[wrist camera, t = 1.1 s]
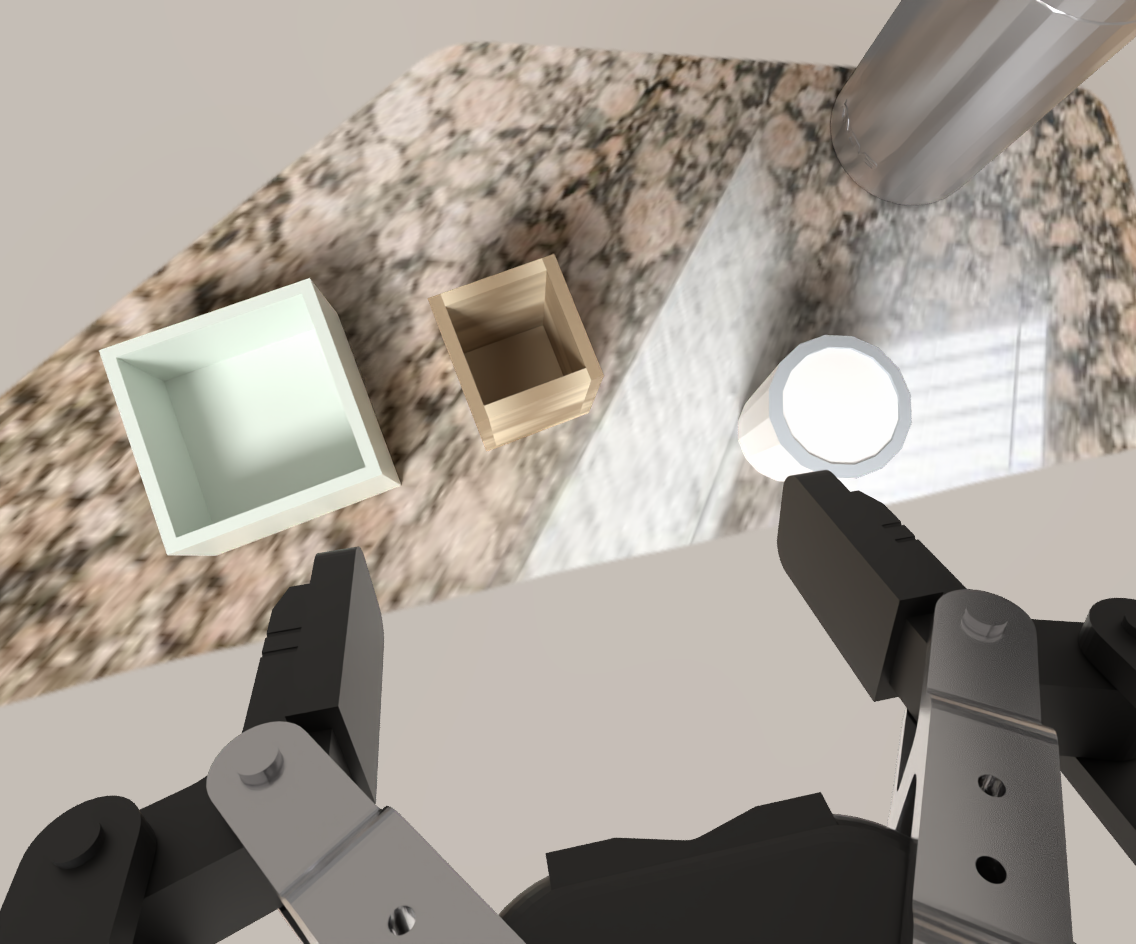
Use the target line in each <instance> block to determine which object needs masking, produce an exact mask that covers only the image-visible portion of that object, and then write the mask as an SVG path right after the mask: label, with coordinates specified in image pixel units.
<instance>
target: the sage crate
mask: <svg viewBox="0 0 1136 944" xmlns="http://www.w3.org/2000/svg"><path fill="white" fill-rule="evenodd" d="M99 352H100V355H101V358H102V361H103V364H104V367H105V370H106V373H107V376H108V379H109V382H110V385H111V388H112V391H113V394H114V397H115V400H116V403H117V406H118V409H119V412H120V415H121V418H122V421H123V424H124V427H125V430H126V433H127V436H128V439H129V442H130V445H131V448H132V451H133V454H134V457H135V460H136V463H137V466H138V469H139V472H140V475H141V478H142V481H143V484H144V487H145V490H146V493H147V496H148V499H149V502H150V505H151V508H152V511H153V514H154V517H155V520H156V523H157V526H158V529H159V531H160V534H161V537H162V540H163V543H164V546H165V549H166V552H167V555H200V556H217V555H219V554H222V553H224V552H227V551H230V550H232V549H235V548H238V547H240V546H243V545H246V544H248V543H251V542H254V541H256V540H259V539H261V538H264V537H267V536H269V535H272V534H275V533H277V532H280V531H283V530H285V529H288V528H291V527H293V526H296V525H299V524H301V523H304V522H306V521H309V520H312V519H314V518H317V517H320V516H322V515H325V514H328V513H330V512H333V511H336V510H338V509H341V508H343V507H346V506H349V505H351V504H354V503H357V502H359V501H362V500H365V499H367V498H370V497H373V496H375V495H378V494H380V493H383V492H386V491H388V490H391V489H394V488H396V487H399V486H401V483H400V480H399V478H398V475H397V472H396V470H395V467H394V464H393V461H392V459H391V456H390V453H389V451H388V448H387V445H386V443H385V440H384V437H383V435H382V432H381V429H380V426H379V424H378V421H377V418H376V416H375V413H374V410H373V408H372V405H371V402H370V400H369V397H368V394H367V391H366V389H365V386H364V383H363V381H362V378H361V375H360V373H359V370H358V367H357V365H356V362H355V359H354V356H353V354H352V351H351V348H350V346H349V343H348V340H347V338H346V335H345V332H344V330H343V327H342V324H341V321H340V319H339V316H338V314H337V312H336V311H335V310H334V309H333V307H332V306H331V305H330V303H329V302H328V301H327V300H326V298H325V297H324V296H323V294H322V293H321V292H320V290H319V289H318V288H317V287H316V285H315V284H314V283H313V281H312V280H311V279H310V278H308V279H305V280H302V281H300V282H297V283H294V284H291V285H288V286H285V287H282V288H279V289H276V290H273V291H270V292H267V293H265V294H262V295H259V296H256V297H253V298H250V299H247V300H244V301H241V302H238V303H235V304H233V305H230V306H227V307H224V308H221V309H218V310H215V311H212V312H209V313H206V314H203V315H201V316H198V317H195V318H192V319H189V320H186V321H183V322H180V323H177V324H174V325H171V326H168V327H166V328H163V329H160V330H157V331H154V332H151V333H148V334H145V335H142V336H139V337H136V338H134V339H131V340H128V341H125V342H122V343H119V344H116V345H113V346H110V347H107V348H104V349H102V350H99Z"/></svg>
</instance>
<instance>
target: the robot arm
mask: <svg viewBox="0 0 1136 944" xmlns="http://www.w3.org/2000/svg"><path fill="white" fill-rule="evenodd" d="M1135 37H1136V0H901V2H900V3H899V5H898V7H897V8H896V9H895V11H894V12H893V14H892V15H891V17H890V19H889V20H888V21H887V23H886V24H885V26H884V27H883V29H882V30H881V32H880V33H879V35H878V36H877V38H876V39H875V41H874V42H873V44H872V45H871V47H870V48H869V50H868V51H867V53H866V54H865V56H864V57H863V59H862V60H861V62H860V63H859V65H858V66H857V68H856V69H855V71H854V72H853V74H852V75H851V77H850V78H849V80H848V81H847V83H846V85H845V86H844V88H843V89H842V91H841V92H840V94H839V95H838V97H837V99H836V102H835V105H834V108H833V110H832V117H831V126H830V128H831V136H832V143H833V146H834V149H835V152H836V155H837V157H838V159H839V161H840V163H841V164H842V166H843V168H844V169H845V171H846V172H847V173H848V174H849V175H850V177H851V178H852V179H853V180H854V181H855V182H856V183H857V184H858V185H860V186H861V187H862V188H864V189H865V190H866V191H867V192H869V193H871V194H873V195H875V196H877V197H879V198H881V199H883V200H885V201H889V202H893V203H896V204H900V205H923V204H930V203H933V202H936V201H939V200H941V199H944V198H946V197H948V196H949V195H951V194H952V193H954V192H955V191H957V190H958V189H960V188H961V187H962V186H963V185H964V184H965V183H967V182H968V181H969V180H970V179H971V178H972V177H973V176H975V175H976V174H977V173H978V172H979V171H980V170H982V169H983V168H984V167H985V166H986V165H987V164H989V163H990V162H991V161H992V160H993V159H994V158H996V157H997V156H998V155H999V154H1000V153H1002V152H1003V151H1004V150H1005V149H1006V148H1007V147H1009V146H1010V145H1011V144H1012V143H1013V142H1014V141H1016V140H1017V139H1018V138H1019V137H1020V136H1021V135H1023V134H1024V133H1025V132H1026V131H1027V130H1028V129H1029V128H1031V127H1032V126H1033V125H1034V124H1035V123H1036V122H1038V121H1039V120H1040V119H1041V118H1042V117H1043V116H1045V115H1046V114H1047V113H1048V112H1049V111H1050V110H1051V109H1053V108H1054V107H1055V106H1056V105H1057V104H1058V103H1060V102H1061V101H1062V100H1063V99H1064V98H1065V97H1067V96H1068V95H1069V94H1070V93H1071V92H1072V91H1073V90H1075V89H1076V88H1077V87H1078V86H1079V85H1080V84H1082V83H1083V82H1084V81H1085V80H1086V79H1087V78H1088V77H1090V76H1091V75H1092V74H1093V73H1094V72H1095V71H1097V70H1098V69H1099V68H1100V67H1101V66H1102V65H1104V64H1105V63H1106V62H1107V61H1108V60H1109V59H1110V58H1111V57H1113V56H1114V55H1115V54H1116V53H1118V52H1119V51H1120V50H1121V49H1122V48H1123V47H1124V46H1126V45H1127V44H1128V43H1129V42H1130V41H1131V40H1133V39H1134V38H1135ZM777 547H778V553H779V557H780V561H781V563H782V566H783V568H784V570H785V571H786V573H787V574H788V576H789V577H790V579H791V580H792V582H793V583H794V585H795V586H796V588H797V589H798V591H799V592H800V594H801V595H802V596H803V598H804V600H805V601H806V602H807V604H808V605H809V607H810V608H811V610H812V611H813V613H814V614H815V616H816V617H817V618H818V620H819V622H820V623H821V625H822V626H823V627H824V629H825V631H826V632H827V633H828V635H829V636H830V638H831V639H832V641H833V642H834V644H835V645H836V647H837V648H838V650H839V651H840V653H841V654H842V655H843V657H844V658H845V660H846V661H847V663H848V664H849V665H850V667H851V669H852V670H853V672H854V673H855V675H856V676H857V678H858V679H859V680H860V682H861V684H862V685H863V687H864V688H865V689H866V691H867V692H868V694H869V695H870V697H871V698H872V700H873V701H874V702H876V701H880V700H885V699H890V698H895V697H899V698H900V699H901V700H902V702H903V703H904V705H905V706H906V709H905V712H904V716H903V719H902V727H901V734H900V742H899V749H898V757H897V765H896V772H895V780H894V787H893V795H892V802H891V808H890V814H889V819H888V823H887V827H886V826H883V825H881V824H879V823H876V822H873V821H869V820H865V819H862V818H858V817H853V816H847V815H840V814H832V813H831V811H830V809H829V807H828V805H827V803H826V801H825V800H824V797H823V795H822V794H821V792H819V793H815V794H810V795H806V796H801V797H797V798H792V799H788V800H783V801H779V802H774V803H770V804H765V805H761V806H756V807H754V808H752V809H750V810H748V811H747V812H745V813H743V814H741V815H739V816H737V817H736V818H734V819H732V820H730V821H728V822H726V823H725V824H723V825H721V826H719V827H717V828H715V829H714V830H712V831H710V832H708V833H706V834H704V835H702V836H701V837H699V838H696V839H693V840H658V839H635V838H633V839H632V838H612V839H608V840H604V841H599V842H594V843H590V844H586V845H581V846H576V847H572V848H567V849H563V850H559V851H554V852H549V853H546V859H547V865H548V871H549V876H547V877H546V878H544V879H542V880H540V881H538V882H536V883H534V884H533V885H532V886H530V887H529V888H527V889H526V890H525V891H523V892H522V893H520V894H519V895H518V896H517V897H516V898H515V899H514V900H512V902H510V903H509V904H508V905H507V906H506V907H505V908H504V909H503V910H502V911H501V913H500V914H499V915H497V913H496V912H495V911H494V910H493V909H492V908H491V907H490V906H489V905H488V904H487V903H486V902H485V901H484V900H483V899H482V898H481V897H480V896H479V895H478V894H477V893H476V892H475V891H474V890H473V889H472V888H471V886H470V885H469V884H468V883H466V881H465V880H464V879H463V878H462V877H461V876H460V875H459V874H458V873H457V872H456V871H455V870H454V869H453V868H452V867H451V866H450V865H449V864H448V863H447V862H446V861H445V860H444V859H443V858H442V857H441V856H440V855H439V854H438V853H437V851H436V850H435V849H433V847H431V845H430V844H429V843H428V842H427V841H426V840H425V839H424V838H423V837H422V836H421V835H420V834H419V833H418V832H417V831H416V830H415V829H414V828H413V827H412V826H411V825H410V824H409V823H408V822H407V821H406V820H405V819H404V818H403V817H402V816H401V815H400V814H399V813H398V812H397V811H396V810H394V809H393V808H391V807H389V806H386V807H384V808H383V809H380V808H379V807H377V806H376V805H375V804H376V789H377V768H378V748H379V730H380V709H381V691H382V670H383V651H384V632H383V623H382V617H381V612H380V608H379V604H378V601H377V598H376V594H375V591H374V588H373V584H372V581H371V578H370V574H369V571H368V568H367V564H366V561H365V558H364V554H363V552H362V550H361V548H360V547H353V548H347V549H341V550H335V551H329V552H323V553H318V554H316V556H315V559H314V564H313V570H312V575H311V580H310V584H304V585H298V586H293V587H289V588H288V590H287V591H286V592H285V594H284V595H283V596H282V598H281V599H280V600H279V602H278V603H277V604H276V606H275V607H274V608H273V609H272V613H271V617H270V621H269V625H268V630H267V638H265V642H264V646H263V650H262V657H261V658H260V662H259V666H258V670H257V674H256V679H255V683H254V687H253V691H252V695H251V699H250V703H249V707H248V711H247V716H246V719H245V723H244V727H243V731H242V734H240V735H238V736H237V737H236V738H234V739H233V740H232V741H230V742H229V743H228V744H227V745H226V746H225V747H224V748H223V749H222V750H221V752H220V753H219V754H218V755H217V757H216V758H215V760H214V762H213V763H212V765H211V767H210V770H209V772H208V775H207V776H206V777H205V778H203V779H201V780H200V781H198V782H197V783H195V784H193V785H191V786H189V787H187V788H185V789H183V790H181V791H179V792H177V793H175V794H173V795H170V796H168V797H166V798H164V799H162V800H160V801H157V802H155V803H153V804H151V805H149V806H147V807H145V808H142V809H140V810H139V809H138V807H137V806H136V805H135V803H133V802H132V801H131V800H129V799H127V798H124V797H120V796H104V797H98V798H95V799H92V800H88V801H86V802H83V803H81V804H79V805H77V806H75V807H73V808H71V809H69V810H68V811H66V812H65V813H63V814H62V815H61V816H59V817H57V818H56V819H55V820H54V821H53V822H51V823H50V824H49V825H48V826H47V827H46V828H45V829H44V830H43V831H42V832H41V833H40V834H39V835H38V836H37V837H36V838H35V839H34V841H33V842H32V843H31V844H30V846H29V847H28V849H27V851H26V852H25V854H24V856H23V858H22V860H21V862H20V864H19V867H18V869H17V871H16V874H15V876H14V879H13V881H12V883H11V886H10V888H9V891H8V893H7V896H6V898H5V900H4V903H3V905H2V908H1V910H0V944H216V943H217V942H219V941H221V940H223V939H225V938H226V937H228V936H230V935H232V934H234V933H235V932H237V931H239V930H241V929H243V928H244V927H246V926H248V925H250V924H251V923H253V922H255V921H257V920H259V919H260V918H262V917H264V916H266V915H268V914H269V913H271V912H273V911H275V910H276V909H277V910H278V911H279V912H280V914H281V915H282V917H283V918H284V920H285V921H286V922H287V924H288V925H289V927H290V928H291V929H292V931H293V932H294V933H295V935H296V936H297V937H298V939H299V941H300V942H301V943H302V944H1076V943H1075V942H1073V937H1072V936H1073V935H1072V922H1071V909H1070V897H1069V896H1070V895H1069V881H1068V869H1067V855H1066V840H1065V827H1064V813H1063V801H1062V787H1061V773H1060V771H1061V772H1062V773H1063V774H1064V776H1065V777H1066V778H1067V780H1068V781H1069V782H1070V783H1071V784H1072V786H1073V787H1074V788H1075V790H1076V791H1077V792H1078V793H1079V795H1080V796H1081V797H1082V799H1083V800H1084V801H1085V802H1086V803H1087V805H1088V806H1089V807H1090V809H1091V810H1092V811H1093V812H1094V814H1095V815H1096V816H1097V817H1098V819H1099V820H1100V821H1101V823H1102V824H1103V825H1104V826H1105V827H1106V829H1107V830H1108V831H1109V833H1110V834H1111V835H1112V836H1113V837H1114V839H1115V840H1116V841H1117V842H1118V844H1119V845H1120V846H1121V848H1122V849H1123V850H1124V852H1125V853H1126V854H1127V855H1128V857H1129V858H1130V859H1131V860H1132V861H1133V863H1134V864H1135V865H1136V600H1134V599H1127V598H1111V599H1110V598H1109V599H1105V600H1101V601H1099V602H1097V603H1096V604H1095V605H1093V606H1092V608H1091V609H1090V611H1089V614H1088V615H1087V618H1086V620H1085V622H1084V623H1081V622H1065V621H1051V620H1036V619H1035V620H1034V619H1031V618H1030V617H1029V616H1028V615H1027V614H1026V613H1025V612H1024V611H1023V610H1022V609H1021V608H1020V607H1018V606H1017V605H1015V604H1014V603H1012V602H1011V601H1009V600H1007V599H1005V598H1003V597H1001V596H998V595H995V594H992V593H989V592H985V591H980V590H971V589H966V588H965V587H964V586H963V585H962V583H961V582H960V581H959V580H958V579H957V578H955V576H954V575H953V574H952V573H951V572H950V571H949V570H948V569H947V568H946V567H945V566H944V565H943V564H942V563H941V562H940V561H939V560H938V559H937V558H936V557H935V556H934V555H933V554H932V553H931V552H930V551H929V550H928V549H927V548H926V547H925V546H924V545H923V544H922V543H921V542H920V541H919V540H916V539H915V536H914V534H913V533H912V532H910V530H909V529H908V528H907V527H906V526H905V525H901V521H900V520H899V519H898V518H897V517H896V516H895V515H894V514H893V513H892V512H891V511H890V510H889V509H888V508H887V507H886V506H885V505H884V504H883V503H881V502H879V501H877V500H875V499H873V498H872V497H870V496H868V495H866V494H864V493H862V492H860V491H853V492H850V491H849V490H848V489H847V488H846V487H845V486H844V485H843V484H842V483H841V481H840V480H839V479H838V478H837V477H836V476H835V475H834V474H833V473H832V472H831V471H829V470H820V471H814V472H808V473H802V474H796V475H790V476H788V477H787V478H786V479H785V482H784V486H783V493H782V502H781V511H780V519H779V528H778V536H777Z"/></svg>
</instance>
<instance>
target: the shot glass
mask: <svg viewBox="0 0 1136 944" xmlns="http://www.w3.org/2000/svg"><path fill="white" fill-rule="evenodd" d="M911 423H912V421H911V394H910V392H909V390H908V388H907V385H906V383H905V381H904V378H903V376H902V374H901V372H900V369H899V368H898V367H897V366H896V365H895V364H894V363H893V362H892V361H891V360H890V359H889V358H888V357H887V356H886V355H885V354H884V353H883V352H882V351H881V350H880V349H879V348H878V347H876V346H873V345H871V344H869V343H867V342H865V341H862V340H860V339H858V338H856V337H853V336H837V335H823V336H821V337H818V338H815V339H812V340H810V341H807V342H804V343H802V344H799V345H798V346H797V347H796V348H795V349H794V350H793V351H792V352H791V353H790V354H789V355H788V356H786V357H785V358H784V359H783V360H782V361H781V362H780V363H779V364H778V366H777V367H776V368H775V369H774V370H773V371H772V373H771V374H770V375H769V376H768V377H767V378H766V380H765V381H764V382H763V383H762V384H761V386H760V387H759V388H758V389H757V390H756V391H755V393H754V394H753V395H752V396H751V397H750V399H749V400H748V401H747V402H746V403H745V405H744V408H743V410H742V412H741V415H740V417H739V420H738V442H739V444H740V446H741V449H742V451H743V454H744V456H745V459H746V460H747V461H748V462H749V463H750V464H751V465H752V466H753V467H754V468H755V469H756V470H757V471H758V472H759V473H761V474H763V475H765V476H767V477H769V478H772V479H774V480H776V481H785V479H786V478H787V477H788V476H790V475H796V474H802V473H808V472H814V471H820V470H829V471H831V472H832V473H833V474H834V475H835V476H836V477H837V478H838V479H855V478H859V477H861V476H864V475H866V474H869V473H871V472H874V471H877V470H879V469H882V468H883V467H884V466H885V465H886V464H887V463H888V462H889V461H890V460H891V459H892V458H893V457H894V456H895V455H896V454H897V453H898V452H899V451H900V450H901V449H902V447H903V444H904V441H905V439H906V436H907V433H908V431H909V428H910V426H911Z"/></svg>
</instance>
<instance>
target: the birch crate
mask: <svg viewBox="0 0 1136 944" xmlns="http://www.w3.org/2000/svg"><path fill="white" fill-rule="evenodd" d="M428 301H429V303H430V306H431V309H432V311H433V314H434V317H435V319H436V322H437V324H438V327H439V330H440V332H441V335H442V337H443V340H444V343H445V345H446V348H447V350H448V353H449V356H450V358H451V361H452V363H453V366H454V369H455V371H456V374H457V376H458V379H459V382H460V384H461V387H462V389H463V392H464V395H465V397H466V400H467V402H468V405H469V408H470V410H471V413H472V415H473V418H474V420H475V423H476V426H477V428H478V431H479V433H480V436H481V439H482V441H483V444H484V446H485V449H486V452H487V451H489V450H492V449H495V448H497V447H500V446H503V445H505V444H508V443H511V442H513V441H516V440H519V439H521V438H524V437H526V436H529V435H532V434H534V433H537V432H540V431H542V430H545V429H548V428H550V427H553V426H556V425H558V424H561V423H563V422H566V421H569V420H571V419H574V418H577V417H579V416H582V415H585V414H587V413H589V410H590V408H591V406H592V403H593V401H594V398H595V396H596V393H597V391H598V389H599V386H600V384H601V381H602V379H603V376H604V375H603V372H602V370H601V368H600V365H599V363H598V360H597V358H596V355H595V353H594V350H593V348H592V345H591V343H590V341H589V338H588V336H587V333H586V331H585V328H584V326H583V323H582V321H581V318H580V316H579V314H578V311H577V309H576V306H575V304H574V301H573V299H572V296H571V294H570V291H569V289H568V287H567V284H566V282H565V279H564V277H563V274H562V272H561V269H560V267H559V264H558V262H557V260H556V257H555V255H554V254H552V255H549V256H547V257H544V258H541V259H538V260H535V261H532V262H530V263H527V264H524V265H521V266H518V267H515V268H513V269H510V270H507V271H504V272H501V273H498V274H495V275H493V276H490V277H487V278H484V279H481V280H478V281H476V282H473V283H470V284H467V285H464V286H461V287H459V288H456V289H453V290H450V291H447V292H444V293H442V294H439V295H436V296H433V297H430V298H428Z"/></svg>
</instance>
